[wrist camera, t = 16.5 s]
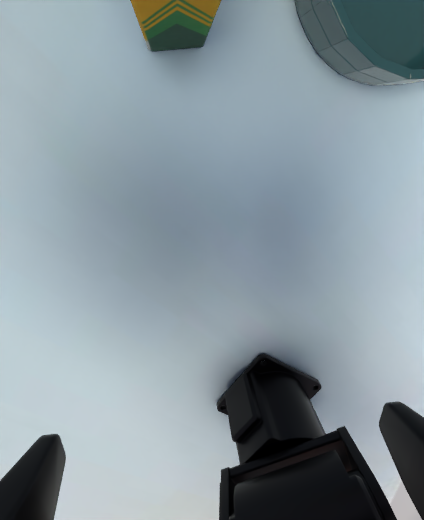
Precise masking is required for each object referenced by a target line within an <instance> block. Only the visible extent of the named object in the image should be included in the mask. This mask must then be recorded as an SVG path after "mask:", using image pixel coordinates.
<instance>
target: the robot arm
mask: <svg viewBox="0 0 424 520" xmlns="http://www.w3.org/2000/svg"><path fill="white" fill-rule="evenodd" d="M262 360H265V361H263V362H261V361H262ZM320 389H321V384H320V383H319V381H318V380H316V379H314V378H312V377H310V376H308V375H306V374H304V373H302V372H300V371H298V370H296V369H294V368H292V367H290V366H288V365H286V364H284V363H282V362H280V361H278V360H276V359H274V358H272V357H270V356H268V355H266V354H261V355H259V356H258V357H257V358H256V359H255V360H254V361H253V362H252V363H251V365H250V366H249V367H248V368H247V369H246V370H245V371H244V373H243V374H241V376H240V377H239V378H238V379H237V380H236V381H235V382H234V384H233V385H232V386H231V387H230V388H229V389H228V390H227V392H226V393H225V394H224V395H223V396H222V398H221V399H220V400H219V401H218V402H217V409H218V411H219V412H222V413H224V414H227V415H228V417H229V423H230V429H231V435H232V440H233V441H234V442H236V444H237V450H238V456H239V461H240V465H238V466H235V467H232V468H229V467H228V468H225V469H222V470H221V483H220V507H219V520H397V519H396V517H395V515H394V513H393V511H392V508H391V506H390V504H389V502H388V500H387V498H386V496H385V495H384V493H383V491H382V489H381V487H380V485H379V483H378V482H377V480H376V478H375V476H374V475H373V473H372V471H371V470H370V468H369V466H368V465H367V463H366V461H365V460H364V458H363V456H362V454H361V453H360V451H359V449H358V448H357V446H356V444H355V443H354V441H353V439H352V438H351V436H350V434H349V433H348V431H347V429H346V428H345V426H343V427H340V428H338V429H337V431H334V432H331V433H328V434H325V432H324V429H323V427H322V425H321V423H320V421H319V418H318V416H317V414H316V412H315V410H314V408H313V405H312V403H311V401H310V399H311V398H312V397H313V396H314V395H315V394H316V393H317V392H318V391H319V390H320ZM379 427H380V431H381V433H382V436H383V438H384V440H385V442H386V445H387V447H388V449H389V452H390V454H391V456H392V459H393V461H394V463H395V466H396V468H397V470H398V472H399V475H400V477H401V479H402V481H403V484H404V486H405V488H406V490H407V492H408V494H409V496H410V498H411V499H412V501H413V503H414V505H415V507H416V509H417V511H418V513H419V514H420V516H421V518H422V520H424V417H422V416H421V415H419V414H418V413H416V412H415V411H413V410H412V409H411V408H409V407H408V406H406V405H405V404H403V403H401V402H389V403H386V404H385V405H384V407H383V411H382V414H381V417H380V421H379ZM65 460H66V455H65V451H64V448H63V445H62V442H61V439H60V436H59V435H58V434H50V435H43V436H41V437H40V438H39V439H38V440H37V441H36V442H35V443H34V444H33V445H32V446H31V447H30V449H29V450H28V451H27V452H26V453H25V454H24V455H23V456H22V457H21V458H20V460H19V461H18V462H17V463H16V464H15V465H14V466H13V467H12V468H11V470H10V471H9V472H8V473H7V474H6V475H5V476H4V477H3V478H2V479H1V481H0V520H54V515H55V510H56V506H57V501H58V496H59V491H60V486H61V481H62V476H63V471H64V466H65Z"/></svg>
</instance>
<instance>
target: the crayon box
mask: <svg viewBox="0 0 424 520" xmlns="http://www.w3.org/2000/svg"><path fill="white" fill-rule="evenodd" d="M130 1H131V3H132V6H133V8H134V11H135V14H136V17H137V19H138V22H139V25H140V28H141V30H142V33H143V36H144V39H145V42H146V45H147V48H148V49H149V50H150V51H163V50H174V49H185V48H195V47H203V46H204V43H205V40H206V38H207V35H208V33H209V30H210V28H211V25H212V22H213V20H214V17H215V15H216V12H217V10H218V7H219V5H220V2H221V0H130Z"/></svg>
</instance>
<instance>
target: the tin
mask: <svg viewBox="0 0 424 520" xmlns="http://www.w3.org/2000/svg"><path fill="white" fill-rule="evenodd" d="M295 3H296V8H297V12H298V15H299V18H300V21H301V24H302V26H303V29H304V31H305V33H306V35H307V37H308V39H309V41H310V43H311V44H312V46H313V47H314V49H315V50H316V51H317V53H318V54H319V55H320V57H321V58H322V59H323V60H324V61H325V62H326V63H327V64H328V65H329V66H330V67H332V68H333V69H334V70H335V71H337V72H338V73H340V74H341V75H343V76H345V77H347V78H349V79H351V80H354V81H357V82H360V83H364V84H368V85H399V84H408V83H415V82H422V81H424V0H295Z"/></svg>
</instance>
